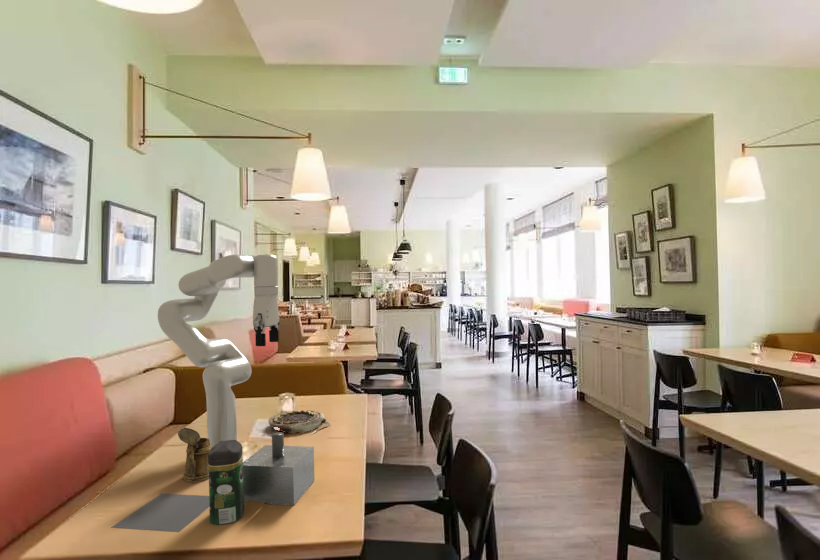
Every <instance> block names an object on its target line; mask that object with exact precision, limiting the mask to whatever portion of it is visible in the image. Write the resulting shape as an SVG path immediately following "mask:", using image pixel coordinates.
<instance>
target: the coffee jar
mask: <svg viewBox="0 0 820 560" xmlns="http://www.w3.org/2000/svg"><path fill="white" fill-rule="evenodd" d="M243 462H244V457H243V445H242V443H241V442H239V441H238V440H237V441H236V440H226V441H220V442H219V443H218V444H216V445H215V446H213V447H212V448H211V450H210V451H209V453H208V471H209V479H208V492H209V495H208V496H209V500H210V507H209V522H210V524H211V525H214V526H223V525H230V524H233V523H236V522H239V521H240V520H241V519H242V518H243V515H244V512H245V501H244V486H243Z"/></svg>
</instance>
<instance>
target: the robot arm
mask: <svg viewBox="0 0 820 560" xmlns="http://www.w3.org/2000/svg"><path fill="white" fill-rule="evenodd" d="M278 266H279V265H278V258H277V256H276V255H274V254H257V255H250V254H230V255H225V256H222V257H220V258H217V259H214V260H213V261H212V262H210V264H209V265H208V266H205V267H203V268H200V269H197V270H194V271H191V272H188V273H186V274H184V275H183V276H181V277H180V279H179V281H178V285H177V286H178V289H179V291H180V292H181V293H182V294H183V295H186V296H189V297H190V298H177V299H171V300H167V301H164V302H163V303H162V304H160V306H159V308H158V310H157V321H158V324H159V327H160V329H161V331H162V332H163V333H164V334H165V335H166V336H167V337H168V339H170V340H171V341H172V342H173V343H175V344H176V346H177V347H178V348H179V349H180V350H181V352H182V353H183V354H184V355H185V357H187V358H188V359H189V361H190V362H191V363H192V364H193V365H194V366H195V367H197V368H204V369H203V372H202V384H203V386H204V391H205V398H206V399H205V400H206V402H205V403H206V428H207V431H206V432H207V433H206V434H207V437H206V438H208V439H209V440H210V443H211V448H212V447H213V446H215V445H216V444H218V443H219V442H220V441H226V440H236V441H238V429H237V428H238V427H237V422H238V421H237V402H236V400H237V399H236V396H235V393H234V392H233V389H232V388H231V387H232V386H233V387H234V386H236V385H238V384H242V383H245V382H246V381H249V379H250V378H251V376H252V371H253V370H252V366H251V363H250V361H249V360H248V359H247V357H245V355H244V354H243V353H242V352H241V351H240V350H239V348H237V347H236V346H235V345H234V343H233V342H232V341H231V340H229V339H226V338H224V337H215V338H207V337H205V336H204V335H203V334H202V333H201V332H200V331H199V329H197V328H196V327H195V326H193V325H192V324H188V322H196V321H197V322H198V321H200V320H203V319H205V318H206V317H207V315H208V314H209V312H210V311H211V308H212V306H213V305H214V302H215V300H216V298H217V296H218V294H219V292H220V289H222V288H223V287H224V286H225V285H226V282H227V281H228V280H231V279H235V278H236V279H237V278H253V282H254V283H253V284H254V286H253V288H254V290H253V291H254V299H253V304H252V305H253V307H252V326H253V330H254V334H255V335H254V336H255V346H256V347H266V344H267V343H266V342H267V341H266V339H267V338H266V333H265V331H266V329H267V328H269V331H268V335H269V336H268V338H269V339H268V342H270V343H278V342H280V336H279V335H280V332H279V331H280V319H281V317H280V315H279V314H280V312H279V302H278V301H279V300H278V297H279V276H278V275H279V274H278V273H279V271H278ZM192 297H194V298H192Z"/></svg>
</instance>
